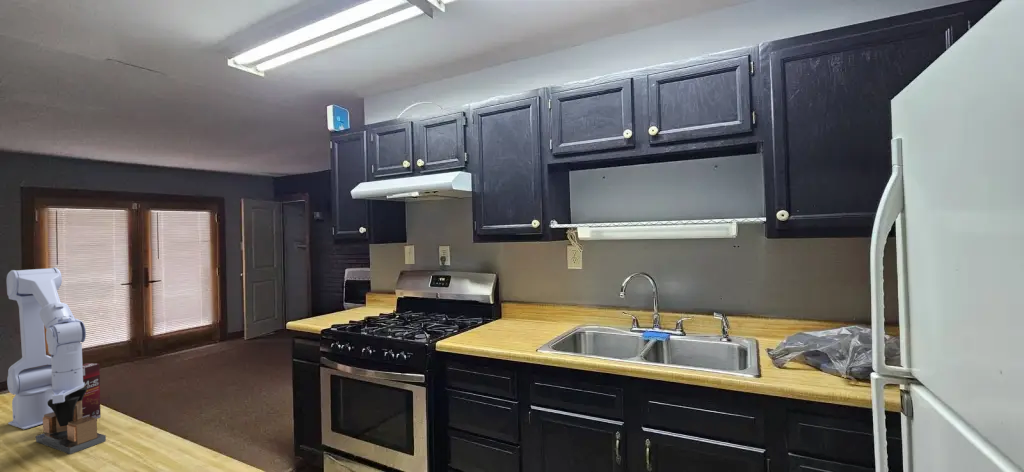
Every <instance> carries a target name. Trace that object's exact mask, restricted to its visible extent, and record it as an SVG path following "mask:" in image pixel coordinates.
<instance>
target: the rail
mask: <svg viewBox="0 0 1024 472" xmlns="http://www.w3.org/2000/svg"><path fill="white" fill-rule="evenodd" d="M97 419H98V418H97ZM97 419H96V418H93V417H90V416H87V417H84V418H80V419H77V420H74V421H71V422H68V425H67V431H62V432H57V428H56V415H55V413H54V412H52V413H48V414H45V415H44V417H43V424H42V432H44V433H40V434H39V435H36V436H35V442H36V443H38V444H40V445H43V446H46V447H50V448H53V449H54V450H58V451H60V452H63V453H66V454H68V455H72V454H74V453H77V452H81V451H82V450H85V449H88V448H91V447H93V446H96V445H100V444H101V443H104V442H106V441H107V439H106V438H107V436H106V434H102V433H99V432H98V421H97Z"/></svg>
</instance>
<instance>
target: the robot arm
mask: <svg viewBox="0 0 1024 472" xmlns="http://www.w3.org/2000/svg"><path fill="white" fill-rule="evenodd" d="M62 277H63V276H62V272H61V270H60V269H58V267H52V268H51V267H49V268H35V269H34V268H33V269H21V270H20V269H19V270H15V269H11V270H10V271H9V272H8V273H7V274H6V293H7V296H8V299H9V300H13V301H16V303H17V305H18V306H17V307H18V311H19V313H18V315H19V316H18V317H19V328H20V340H21V341H20V342H21V343H20V345H21V358H20V359H18V360H17V361H16V362H14V363H13V364H11V366H10V367H9V368H8V372H7V380H6V383H7V390H8V392H9V393H10V394H11V395H14V396H13V398H12V402H11V404H12V406H11V407H12V409H11V410H12V420H11V421H9V422H7V423H8V425H10V426H13V427H16V428H19V429H22V430H27V429H30V428H34V427H38V426H40V425H43V417H44V415H45V414H48V413H52V412H54V413H55V415H56V418H57V420H58V423H59V425H60V427H61V426H67V425H68V422H71V421H73V416H74V410H75V406H76V403H77V401H82V399H83V397H84V394H85V393H86V391H87V387H84V383H83V366H82V364H83V345H82V343H84V342H85V341H86V339H87V338H86V336H87V330H86V327H85V326H86V325H85V324H84V322H83V320H81V319H79V318H76V317H75V316H74V314H73V312H72V310H71V308H70V306H69V304H67V303H66V302H61V299H60V295H59V293H58V290H60V287H61V285H62V282H63V281H62V280H63V278H62ZM45 329H46V332H45ZM46 343H47V347H48V348H46ZM46 349H48V354H50V355H48V354H47V353H46V351H47V350H46Z"/></svg>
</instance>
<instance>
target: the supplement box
mask: <svg viewBox="0 0 1024 472" xmlns="http://www.w3.org/2000/svg"><path fill="white" fill-rule="evenodd" d="M82 366H83V383H84V387H87V391H86V393H85V394H84V397H83V399H82V417H83V418H84V417H87V416H90V417H93V418H96V419H100V418H101V414H102V413H101V387H100V386H101V380H100V379H101V373H100V370H101V369H100V363H97V362H96V363H94V362H86V363H82Z"/></svg>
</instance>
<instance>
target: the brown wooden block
mask: <svg viewBox="0 0 1024 472" xmlns="http://www.w3.org/2000/svg"><path fill="white" fill-rule="evenodd" d="M80 418H83V417H82V401H77V403H76V406H75V410H74V416H73V421H74V420H77V419H80ZM56 428H57V432H62V431H67V426H61V427H60V425H59V423H58V420H57V418H56Z"/></svg>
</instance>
